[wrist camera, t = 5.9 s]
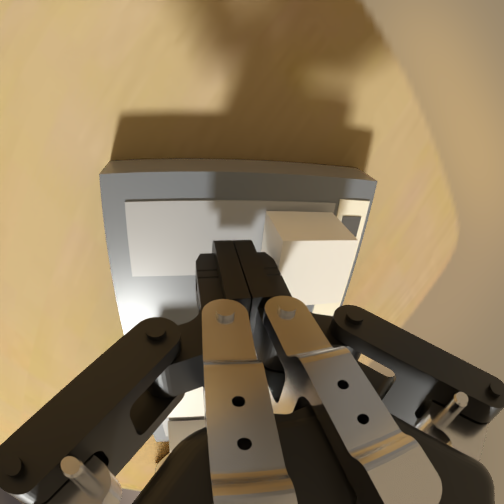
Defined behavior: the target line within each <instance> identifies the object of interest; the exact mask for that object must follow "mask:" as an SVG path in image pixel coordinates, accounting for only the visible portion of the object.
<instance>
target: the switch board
mask: <svg viewBox="0 0 504 504" xmlns="http://www.w3.org/2000/svg"><path fill="white" fill-rule="evenodd" d="M99 175H100V188H101V199H102V209H103V218H104V227H105V234H106V242H107V249H108V255H109V262H110V268H111V274H112V279H113V285H114V290H115V296H116V301H117V306H118V310H119V315H120V320H121V324H122V328H123V333H124V335H125V334H126V333H127V332H129V331H130V330H131V329H132V328H133V327H134V326H135V325H137V324H138V323H139V322H141V321H142V320H145V319H147V318H152V317H162V318H167V319H169V320H171V321H173V322H175V323H176V324H177V325H181V324H184V323H187V322H189V321H191V320H193V319H194V318H195V317H196V316H197V315H198V310H197V301H196V260H197V258H198V256H199V255H200V254H202V253H212V243H213V240H252V242H253V244H254V246H255V249H256V251H257V252H261V248H262V240H263V232H264V224H265V216H266V211H296V212H332V213H333V214H334V215H335V216H336V217H337V218H338V219H339V220H340V221H341V222H342V223H343V224H344V226H345V227H346V228H347V229H348V230H349V231H350V232H351V233H352V234H353V235H354V236H355V237H356V238H357V240H358V243H357V247H356V250H355V254H354V257H353V261H352V264H351V267H350V271H349V274H348V277H347V281H346V284H345V287H344V290H343V293H342V296H341V300H340V302H338V303H327V304H315V305H306V306H307V308H308V310H309V311H310V312H311V313H315V314H321V315H329V316H333V314H334V312H335V310H336V309H337V308H338V307H340V306H342V304H343V301H344V298H345V295H346V292H347V289H348V286H349V283H350V279H351V276H352V273H353V270H354V266H355V263H356V260H357V256H358V253H359V250H360V246H361V242H362V239H363V235H364V232H365V228H366V224H367V221H368V217H369V213H370V209H371V205H372V201H373V197H374V193H375V189H376V185H377V181H376V180H375V179H373V178H372V177H370V176H369V175H367V174H366V173H364V172H363V171H361V170H359V169H358V168H352V167H343V166H332V165H322V164H310V163H296V162H281V161H263V160H239V159H139V160H115V161H109V163H108V164H107V165H106V166H105V168H104V169H103V170H102V171H101V173H100V174H99ZM255 352H256V351H255ZM256 356H257V354H256ZM190 420H205V417H204V416H195V417H169V418H166V419H165V420H164V421H163V423H162V424H161V425H160V426H159V427H158V428H157V430H156V431H155V432H154V433H153V435H154V438H155V440H156V442H159V441H169V435H168V421H190Z"/></svg>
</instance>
